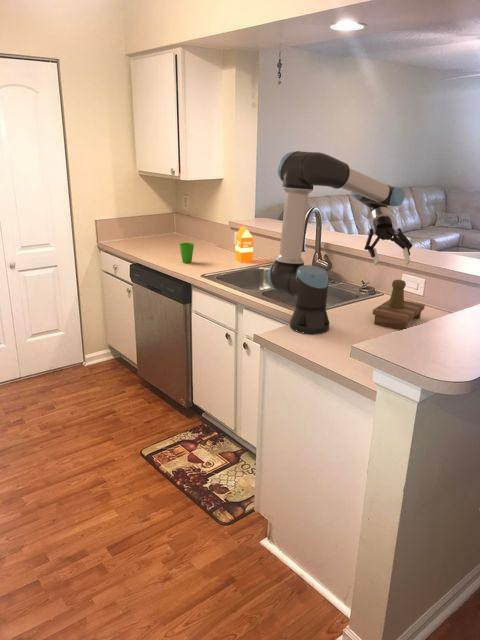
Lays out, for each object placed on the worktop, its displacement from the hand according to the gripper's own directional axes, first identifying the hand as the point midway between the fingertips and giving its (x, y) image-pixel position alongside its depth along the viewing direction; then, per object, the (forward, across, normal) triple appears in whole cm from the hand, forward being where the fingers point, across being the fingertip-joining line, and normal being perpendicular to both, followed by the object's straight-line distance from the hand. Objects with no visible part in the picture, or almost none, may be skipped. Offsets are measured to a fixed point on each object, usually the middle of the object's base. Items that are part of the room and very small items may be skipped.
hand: (392, 263), depth 211 cm
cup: (-56, +80, -87) cm, 130 cm away
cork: (+18, +1, -4) cm, 19 cm away
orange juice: (-57, +46, -88) cm, 115 cm away
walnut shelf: (+23, 0, -8) cm, 24 cm away
